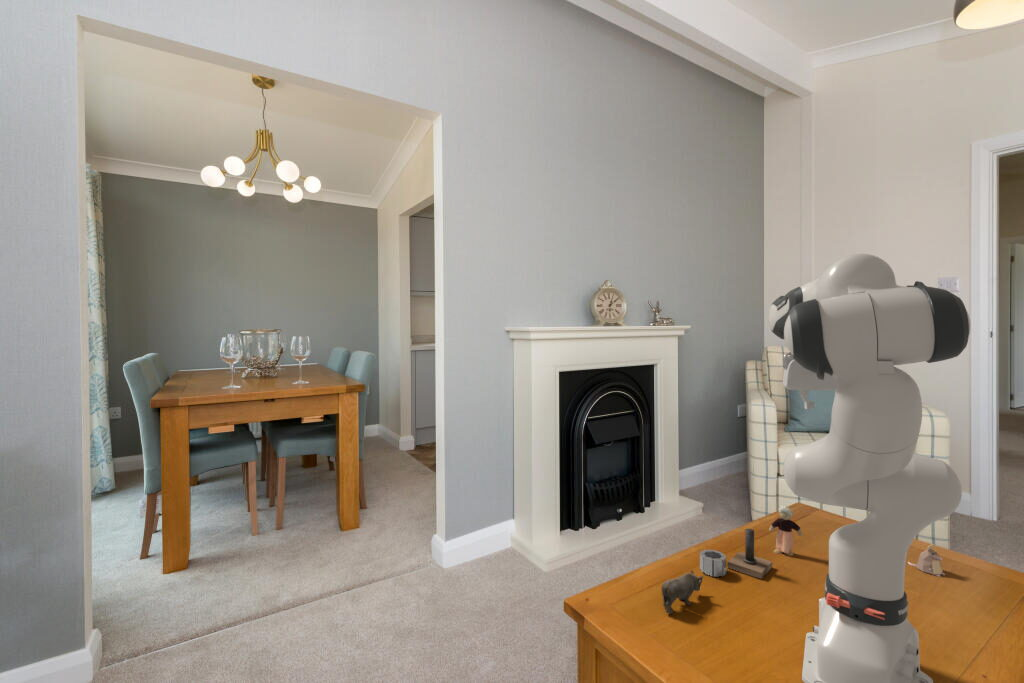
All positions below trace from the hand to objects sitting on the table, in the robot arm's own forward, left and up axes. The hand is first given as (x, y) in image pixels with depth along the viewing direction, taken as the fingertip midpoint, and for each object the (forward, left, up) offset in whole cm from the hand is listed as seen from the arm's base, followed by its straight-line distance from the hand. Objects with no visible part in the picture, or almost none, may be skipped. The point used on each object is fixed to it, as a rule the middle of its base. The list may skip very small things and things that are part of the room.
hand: (831, 409), depth 114 cm
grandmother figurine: (+8, +12, -41) cm, 44 cm away
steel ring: (-15, +22, -41) cm, 49 cm away
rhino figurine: (-33, +21, -41) cm, 57 cm away
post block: (-7, +16, -41) cm, 45 cm away
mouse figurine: (+23, -15, -41) cm, 49 cm away
